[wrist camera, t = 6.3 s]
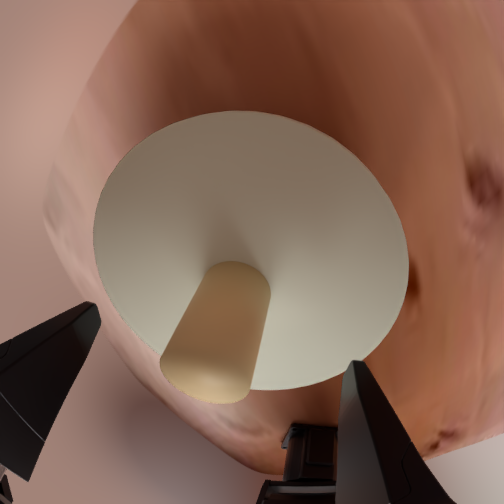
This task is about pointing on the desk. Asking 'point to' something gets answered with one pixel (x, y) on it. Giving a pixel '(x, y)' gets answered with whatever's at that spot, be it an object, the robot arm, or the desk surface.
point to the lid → (249, 253)
